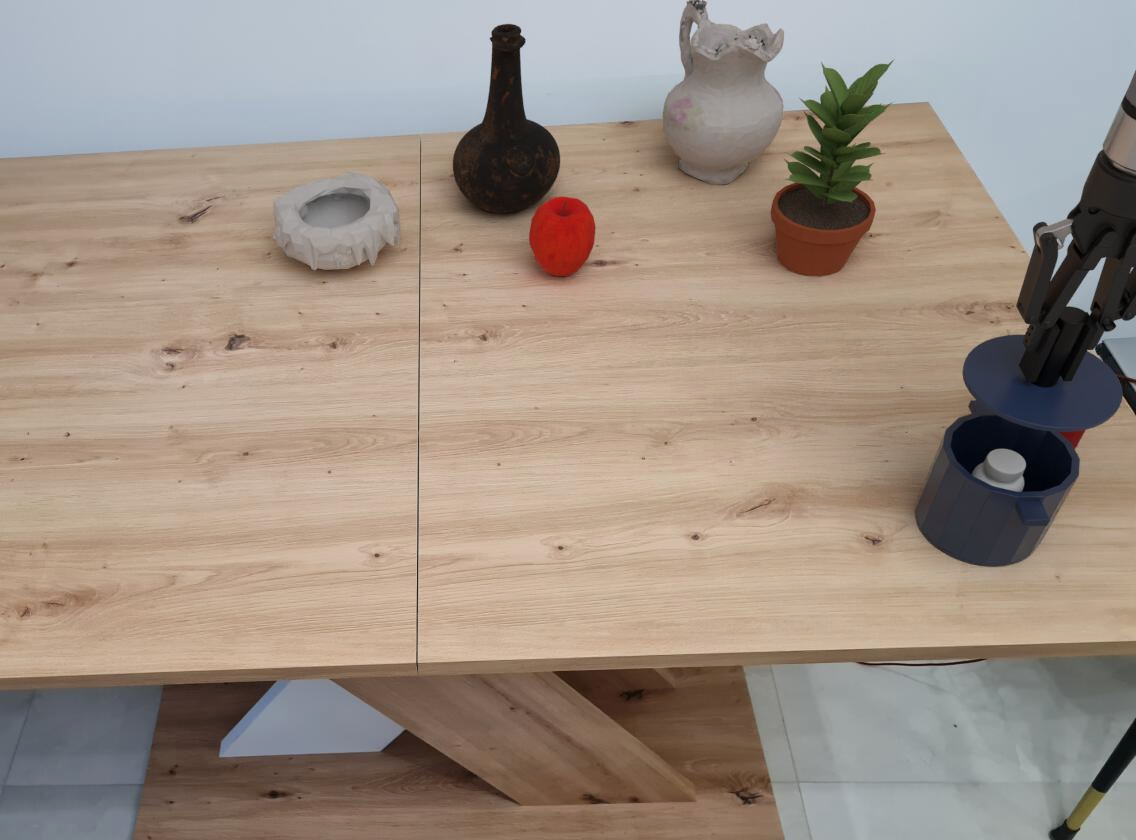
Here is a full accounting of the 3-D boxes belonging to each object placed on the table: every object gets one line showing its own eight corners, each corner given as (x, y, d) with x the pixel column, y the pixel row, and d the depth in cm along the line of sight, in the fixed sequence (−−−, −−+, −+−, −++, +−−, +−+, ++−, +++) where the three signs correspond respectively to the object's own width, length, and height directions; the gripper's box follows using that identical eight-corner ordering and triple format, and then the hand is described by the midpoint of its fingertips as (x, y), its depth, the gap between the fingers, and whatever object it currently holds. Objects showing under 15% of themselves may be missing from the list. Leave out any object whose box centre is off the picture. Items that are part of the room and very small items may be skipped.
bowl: (303, 306, 162) (292, 250, 154) (261, 242, 174) (250, 187, 167) (425, 267, 166) (421, 211, 159) (375, 208, 179) (369, 153, 172)
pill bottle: (947, 504, 125) (974, 444, 118) (994, 502, 125) (1024, 442, 117) (961, 537, 121) (989, 478, 114) (1009, 536, 121) (1041, 477, 114)
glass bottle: (469, 236, 171) (463, 64, 150) (442, 182, 183) (433, 16, 162) (573, 215, 173) (581, 43, 152) (540, 163, 185) (543, -3, 164)
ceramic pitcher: (625, 167, 184) (629, 26, 165) (695, 117, 191) (707, -24, 171) (727, 211, 173) (745, 65, 153) (798, 156, 180) (823, 9, 160)
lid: (1085, 340, 113) (1122, 267, 106) (1142, 434, 103) (1187, 361, 96) (942, 345, 114) (969, 273, 107) (985, 438, 104) (1018, 365, 97)
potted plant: (740, 245, 164) (775, 52, 142) (826, 222, 166) (874, 29, 144) (792, 297, 154) (838, 98, 132) (882, 272, 157) (943, 73, 134)
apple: (538, 295, 159) (539, 224, 150) (520, 260, 166) (520, 189, 157) (601, 283, 160) (606, 212, 151) (581, 248, 167) (585, 178, 157)
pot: (1009, 464, 129) (1044, 393, 121) (1066, 584, 117) (1110, 514, 108) (895, 467, 130) (922, 396, 122) (939, 586, 118) (973, 516, 109)
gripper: (1226, 132, 91) (1111, 347, 109) (1035, 140, 93) (953, 352, 110) (1269, 177, 86) (1141, 395, 104) (1067, 185, 88) (975, 399, 105)
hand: (1045, 372), depth 107 cm, fingers closed on lid, 3 cm apart
